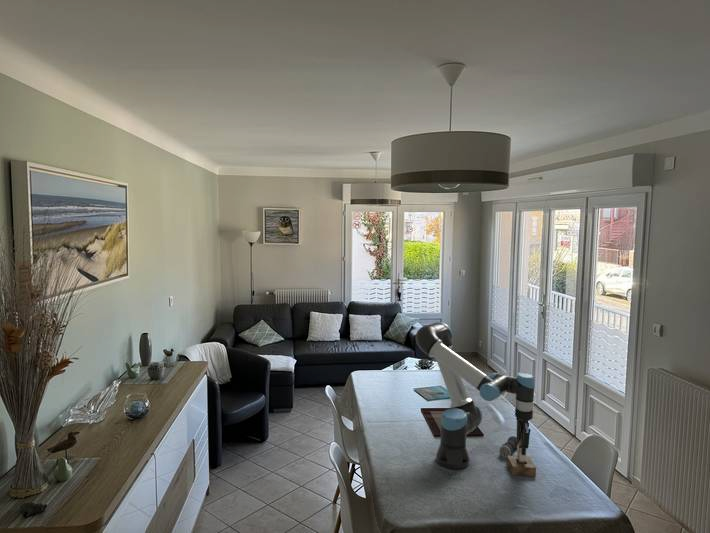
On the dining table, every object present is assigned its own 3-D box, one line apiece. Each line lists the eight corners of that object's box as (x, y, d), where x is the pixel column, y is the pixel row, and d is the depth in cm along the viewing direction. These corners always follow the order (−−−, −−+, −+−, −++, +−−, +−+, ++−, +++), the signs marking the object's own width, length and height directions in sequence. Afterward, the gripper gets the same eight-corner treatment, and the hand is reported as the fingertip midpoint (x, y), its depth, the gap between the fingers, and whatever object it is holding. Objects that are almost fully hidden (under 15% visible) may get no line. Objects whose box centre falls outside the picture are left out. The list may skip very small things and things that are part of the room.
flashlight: (508, 443, 241) (509, 433, 240) (519, 447, 238) (520, 436, 237) (498, 455, 228) (499, 444, 228) (510, 459, 225) (510, 448, 224)
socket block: (512, 475, 210) (513, 466, 210) (506, 463, 220) (507, 455, 219) (535, 476, 209) (536, 467, 209) (528, 464, 219) (529, 456, 219)
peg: (518, 468, 213) (520, 442, 212) (516, 465, 216) (518, 440, 215) (525, 468, 213) (526, 443, 212) (522, 465, 216) (524, 440, 215)
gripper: (538, 416, 204) (535, 468, 206) (527, 402, 219) (524, 451, 222) (520, 415, 205) (517, 467, 207) (510, 402, 220) (508, 450, 222)
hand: (521, 459), depth 214 cm, fingers closed on peg, 2 cm apart
